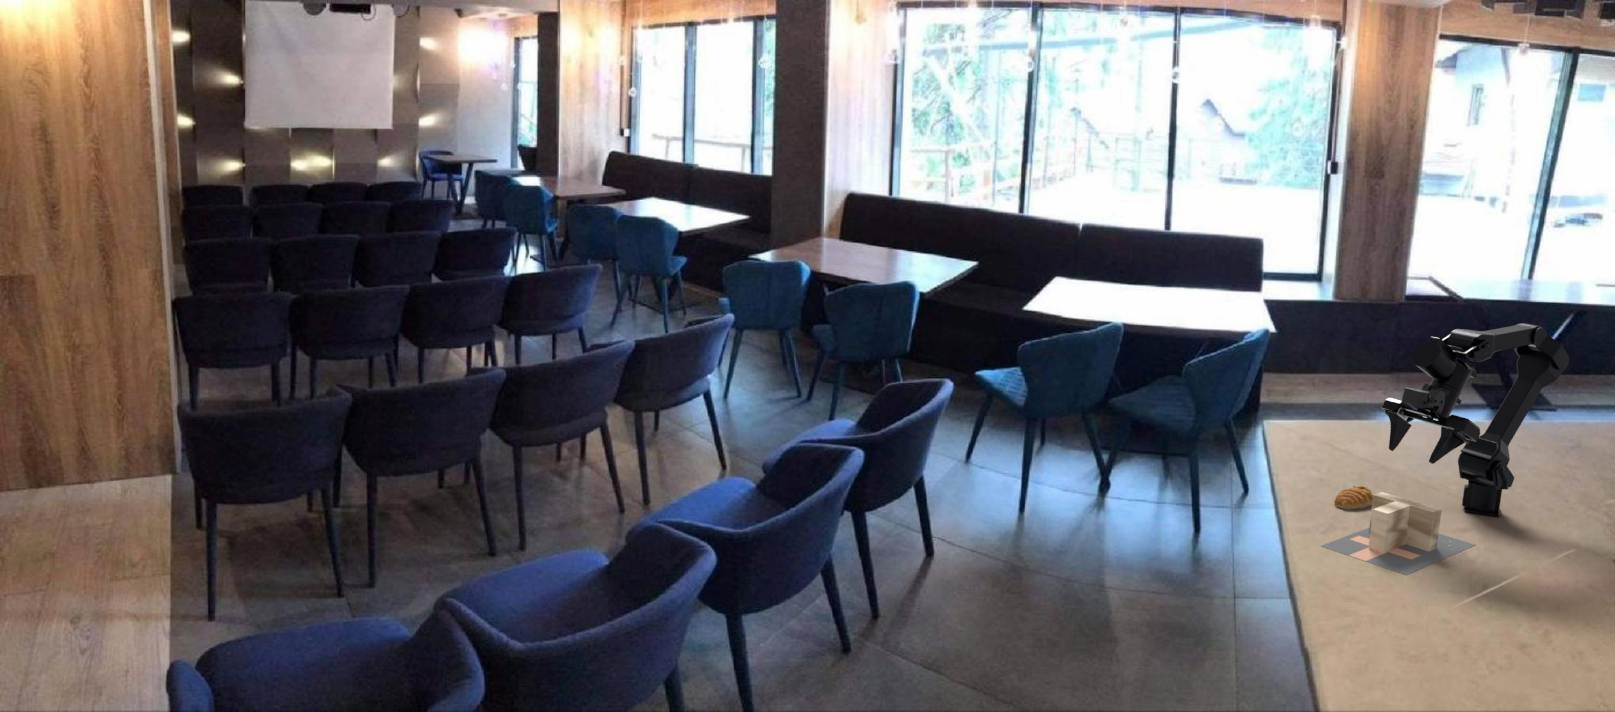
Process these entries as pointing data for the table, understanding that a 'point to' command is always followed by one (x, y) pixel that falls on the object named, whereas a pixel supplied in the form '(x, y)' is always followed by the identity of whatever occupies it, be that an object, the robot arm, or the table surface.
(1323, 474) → the table surface
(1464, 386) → the robot arm
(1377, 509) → the t block
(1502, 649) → the table surface
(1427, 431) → the table surface
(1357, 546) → the mat
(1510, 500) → the table surface
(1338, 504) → the pastry
